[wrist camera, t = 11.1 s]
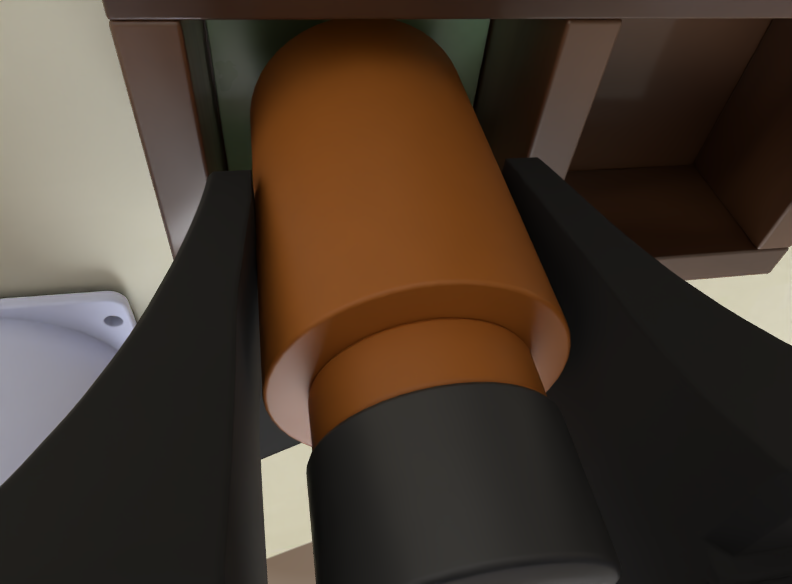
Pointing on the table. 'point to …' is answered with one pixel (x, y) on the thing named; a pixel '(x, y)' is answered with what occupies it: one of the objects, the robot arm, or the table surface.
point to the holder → (519, 104)
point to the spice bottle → (410, 324)
